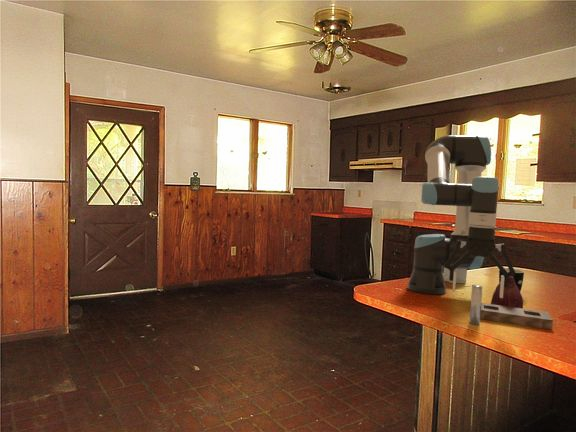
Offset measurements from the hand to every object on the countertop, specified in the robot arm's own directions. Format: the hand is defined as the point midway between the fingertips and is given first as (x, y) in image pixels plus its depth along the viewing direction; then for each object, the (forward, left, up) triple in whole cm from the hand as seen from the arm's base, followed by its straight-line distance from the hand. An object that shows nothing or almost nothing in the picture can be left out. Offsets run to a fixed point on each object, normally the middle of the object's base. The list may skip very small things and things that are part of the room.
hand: (476, 294), depth 132 cm
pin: (0, 0, -10) cm, 10 cm away
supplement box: (-8, +63, -10) cm, 64 cm away
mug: (+14, +52, -10) cm, 54 cm away
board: (+11, +11, -9) cm, 18 cm away
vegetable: (+11, +25, -10) cm, 29 cm away
